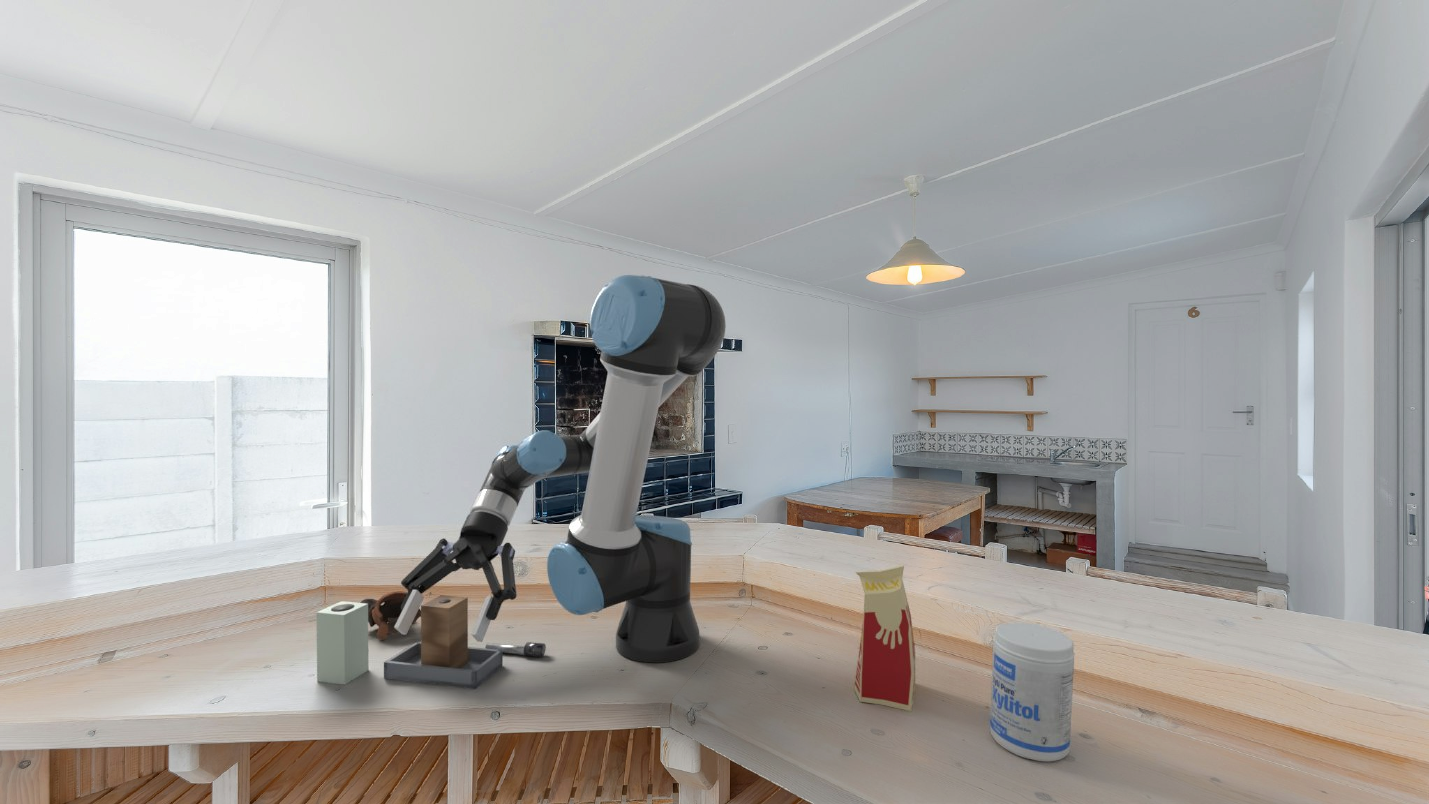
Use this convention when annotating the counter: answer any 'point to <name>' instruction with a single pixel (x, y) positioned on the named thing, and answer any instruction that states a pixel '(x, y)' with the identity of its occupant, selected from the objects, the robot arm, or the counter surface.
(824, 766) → the counter surface
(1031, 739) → the supplement tub
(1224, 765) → the counter surface
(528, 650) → the rod
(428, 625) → the walnut block
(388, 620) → the pottery mug
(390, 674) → the slate tray
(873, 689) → the milk carton
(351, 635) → the sage block
